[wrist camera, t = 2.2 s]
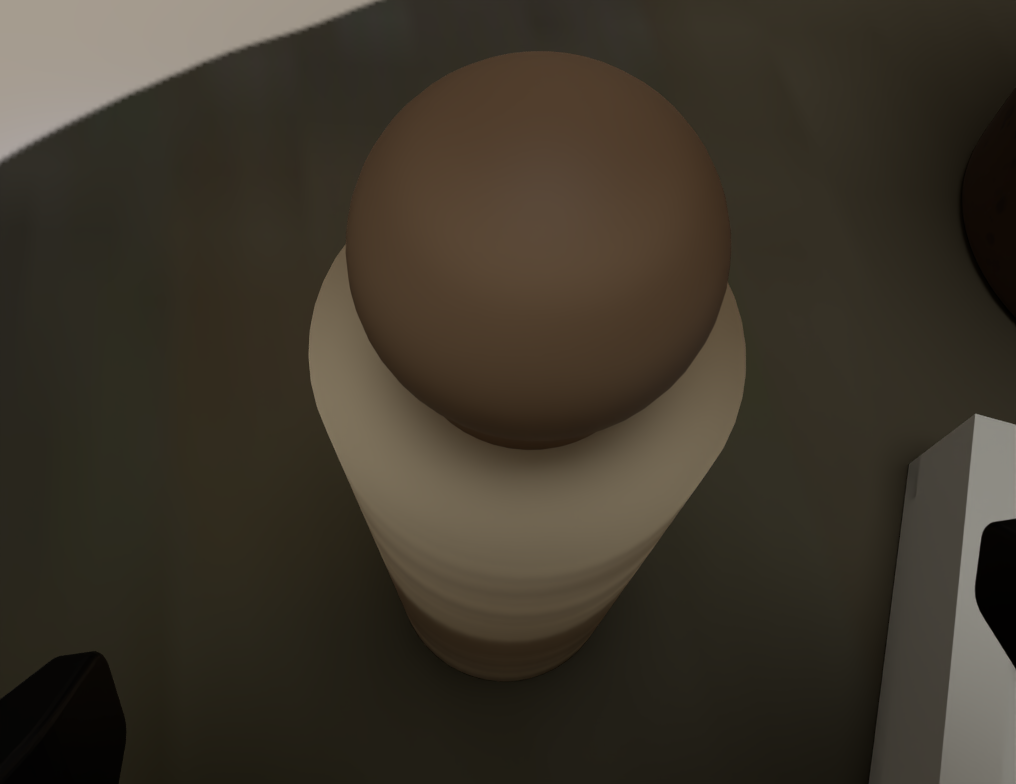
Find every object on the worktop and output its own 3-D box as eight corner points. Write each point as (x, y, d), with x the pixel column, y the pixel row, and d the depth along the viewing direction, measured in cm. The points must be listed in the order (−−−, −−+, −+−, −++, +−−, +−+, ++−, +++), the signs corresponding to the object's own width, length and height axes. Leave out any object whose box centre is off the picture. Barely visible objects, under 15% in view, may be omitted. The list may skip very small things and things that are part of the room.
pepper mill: (578, 709, 18) (818, 514, 5) (370, 644, 19) (110, 312, 6) (629, 506, 20) (906, -24, 7) (438, 450, 20) (359, -151, 7)
